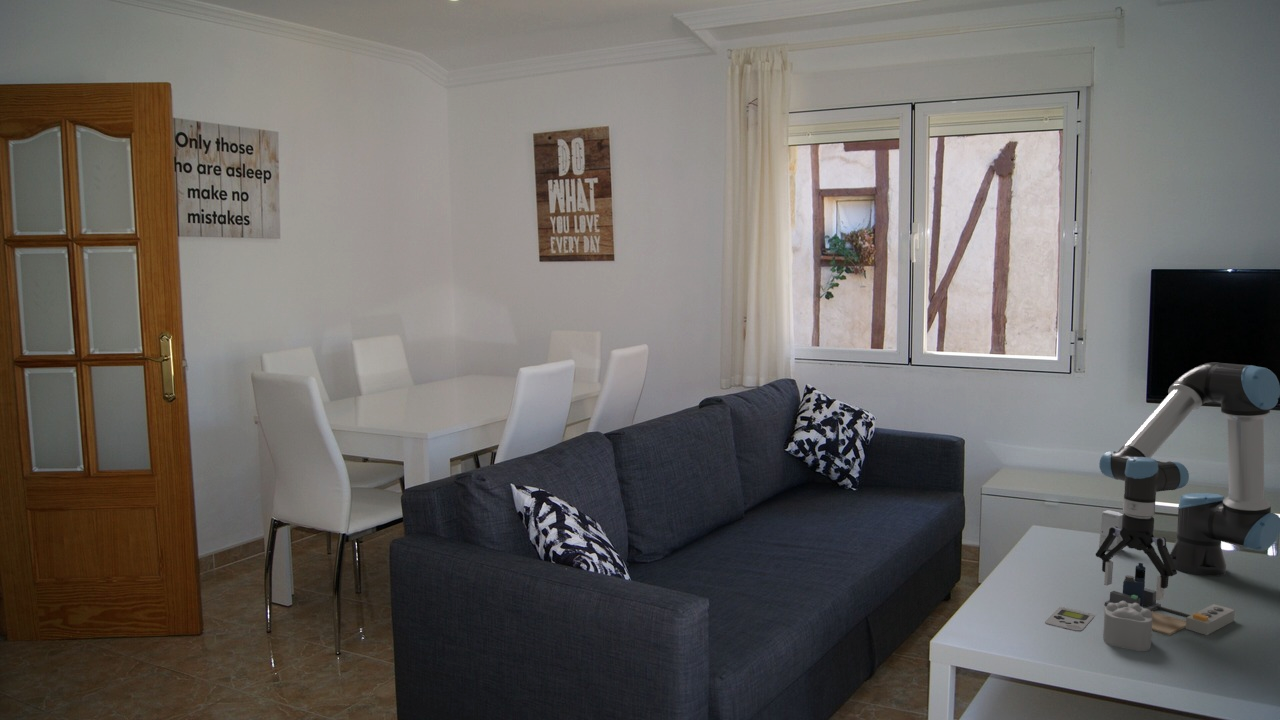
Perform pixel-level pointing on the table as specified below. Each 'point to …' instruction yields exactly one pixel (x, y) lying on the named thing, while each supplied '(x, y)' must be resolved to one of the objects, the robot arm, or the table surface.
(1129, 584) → the vaping device
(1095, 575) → the table surface
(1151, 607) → the frame
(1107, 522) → the skincare box
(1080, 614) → the handheld gaming device
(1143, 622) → the lumpy-topped squat cylinder
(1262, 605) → the table surface
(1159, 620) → the mat
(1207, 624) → the power strip
